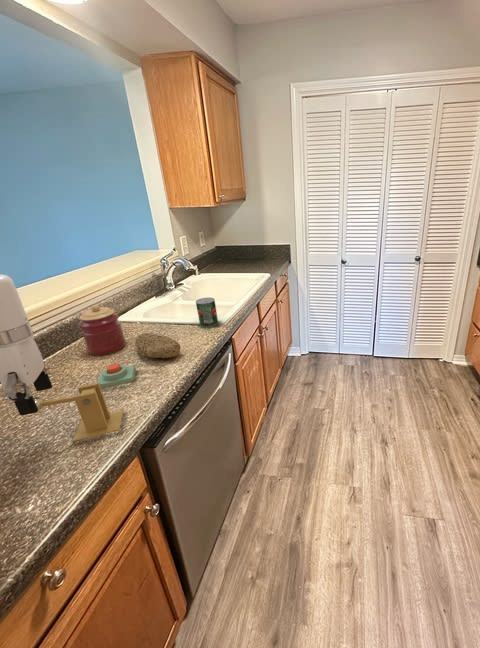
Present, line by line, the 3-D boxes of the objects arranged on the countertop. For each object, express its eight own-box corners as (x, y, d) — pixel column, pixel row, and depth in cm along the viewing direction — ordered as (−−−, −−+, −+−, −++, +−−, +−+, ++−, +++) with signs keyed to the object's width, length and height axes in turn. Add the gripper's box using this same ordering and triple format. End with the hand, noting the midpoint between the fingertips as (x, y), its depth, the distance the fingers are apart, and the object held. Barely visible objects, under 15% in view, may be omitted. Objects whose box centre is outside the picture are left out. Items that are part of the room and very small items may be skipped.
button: (107, 375, 99) (105, 370, 98) (109, 369, 102) (107, 364, 102) (120, 372, 100) (118, 367, 100) (121, 367, 103) (120, 362, 103)
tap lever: (24, 418, 73) (19, 405, 72) (30, 408, 76) (25, 396, 75) (95, 404, 78) (92, 392, 77) (98, 396, 81) (95, 384, 80)
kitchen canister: (101, 359, 117) (86, 313, 110) (81, 351, 123) (66, 308, 116) (133, 344, 127) (121, 301, 120) (114, 337, 133) (101, 297, 126)
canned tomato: (196, 324, 142) (192, 300, 138) (212, 319, 147) (209, 296, 143) (205, 329, 137) (200, 304, 132) (221, 323, 142) (218, 300, 137)
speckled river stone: (134, 353, 122) (142, 364, 106) (132, 332, 121) (140, 340, 105) (170, 348, 129) (183, 358, 113) (169, 329, 128) (182, 336, 112)
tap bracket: (74, 444, 77) (57, 404, 73) (82, 423, 84) (67, 385, 80) (120, 432, 80) (107, 393, 76) (124, 413, 87) (112, 376, 83)
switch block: (97, 391, 98) (93, 380, 96) (102, 378, 105) (98, 367, 103) (133, 383, 101) (130, 372, 99) (136, 371, 108) (133, 360, 106)
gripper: (5, 322, 74) (32, 384, 81) (-36, 355, 59) (0, 429, 66) (44, 316, 77) (66, 378, 83) (13, 347, 62) (44, 419, 68)
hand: (37, 400), depth 75 cm, fingers open, 9 cm apart
